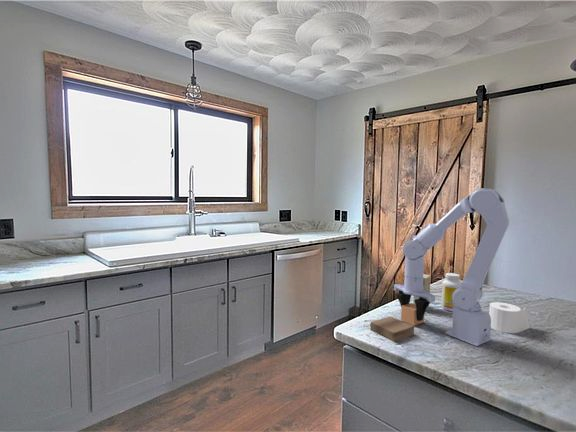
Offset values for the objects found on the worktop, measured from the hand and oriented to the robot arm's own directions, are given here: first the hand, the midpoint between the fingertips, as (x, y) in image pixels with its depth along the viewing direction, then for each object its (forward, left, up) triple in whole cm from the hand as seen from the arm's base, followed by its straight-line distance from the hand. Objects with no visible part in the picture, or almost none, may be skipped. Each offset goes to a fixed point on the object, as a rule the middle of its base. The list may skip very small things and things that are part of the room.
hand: (412, 317), depth 107 cm
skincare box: (+7, -14, -2) cm, 16 cm away
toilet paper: (-19, -23, -2) cm, 30 cm away
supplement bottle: (+1, -23, -2) cm, 23 cm away
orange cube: (0, 0, -1) cm, 1 cm away
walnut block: (-2, +12, -2) cm, 12 cm away
